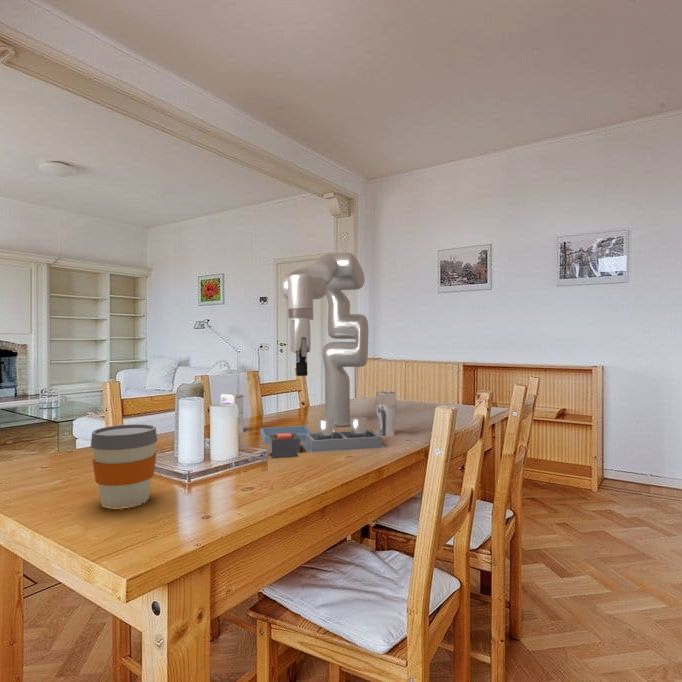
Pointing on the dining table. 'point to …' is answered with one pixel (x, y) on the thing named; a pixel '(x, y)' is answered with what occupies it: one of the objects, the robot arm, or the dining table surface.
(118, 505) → the reusable coffee cup
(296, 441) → the box
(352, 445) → the grey divided tray
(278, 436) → the button
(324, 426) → the billet
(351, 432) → the seated billet
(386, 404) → the beer glass
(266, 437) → the tray
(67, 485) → the dining table surface
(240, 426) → the syrup box
